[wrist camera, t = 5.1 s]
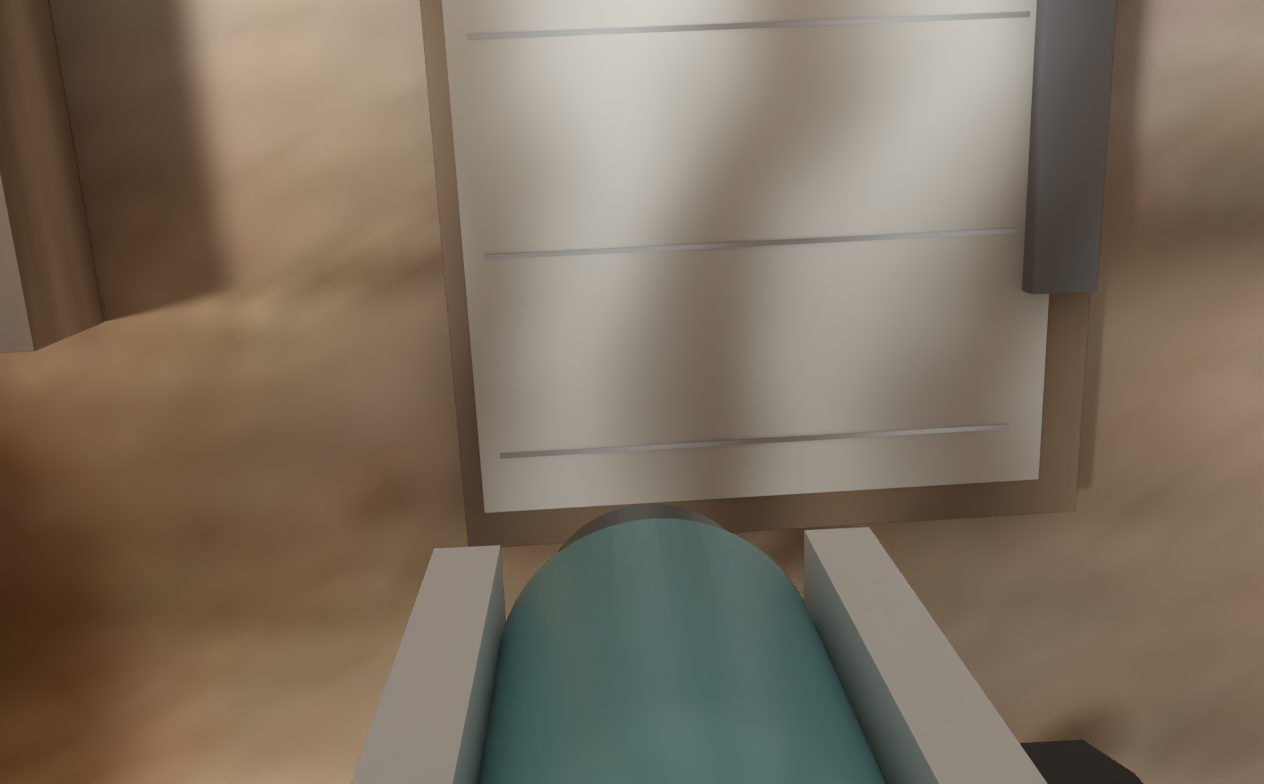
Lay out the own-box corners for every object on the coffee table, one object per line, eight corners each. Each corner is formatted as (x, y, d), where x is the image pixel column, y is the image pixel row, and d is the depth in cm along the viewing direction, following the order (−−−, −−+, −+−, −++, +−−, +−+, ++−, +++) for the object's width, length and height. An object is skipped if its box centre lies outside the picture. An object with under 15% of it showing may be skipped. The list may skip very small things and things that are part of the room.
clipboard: (473, 531, 28) (466, 559, 26) (399, -314, 23) (384, -352, 21) (1055, 495, 29) (1087, 520, 27) (1107, -332, 24) (1151, -371, 22)
